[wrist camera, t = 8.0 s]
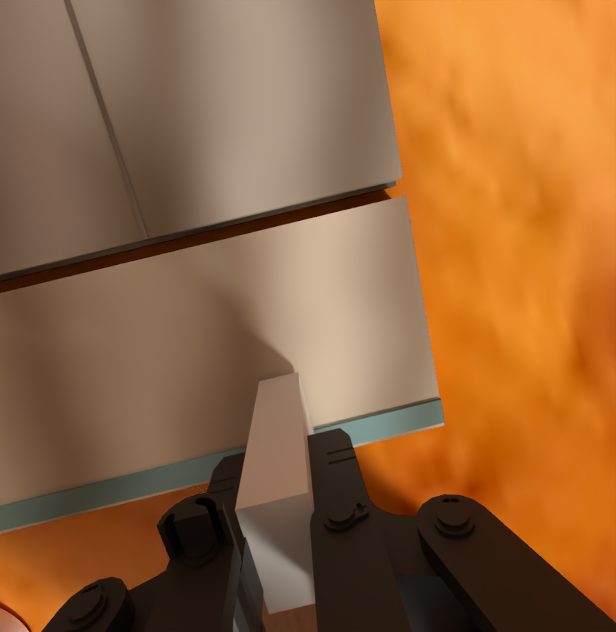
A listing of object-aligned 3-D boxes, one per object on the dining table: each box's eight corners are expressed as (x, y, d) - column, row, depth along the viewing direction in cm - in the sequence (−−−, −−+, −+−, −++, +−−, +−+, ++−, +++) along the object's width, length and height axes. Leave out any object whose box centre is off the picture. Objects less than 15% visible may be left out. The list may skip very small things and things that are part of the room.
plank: (-237, 569, 16) (-298, 608, 15) (-367, 382, 14) (-455, 402, 13) (429, 407, 16) (445, 427, 15) (392, 199, 14) (407, 195, 13)
